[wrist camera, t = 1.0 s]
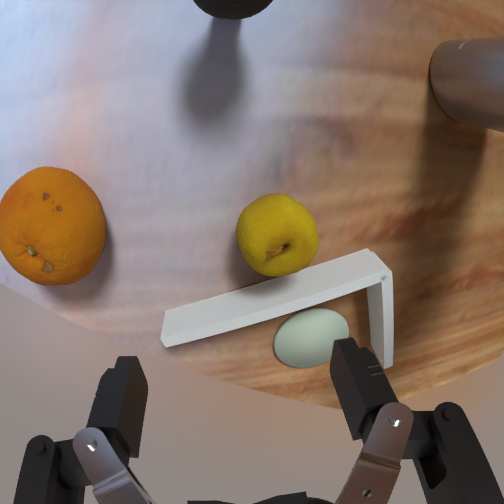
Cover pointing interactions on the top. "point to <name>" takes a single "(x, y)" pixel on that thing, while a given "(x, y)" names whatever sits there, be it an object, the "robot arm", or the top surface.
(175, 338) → the grey corner wall
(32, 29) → the top surface
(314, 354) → the pad
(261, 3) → the light bulb
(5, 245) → the fruit
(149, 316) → the top surface
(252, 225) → the apple
